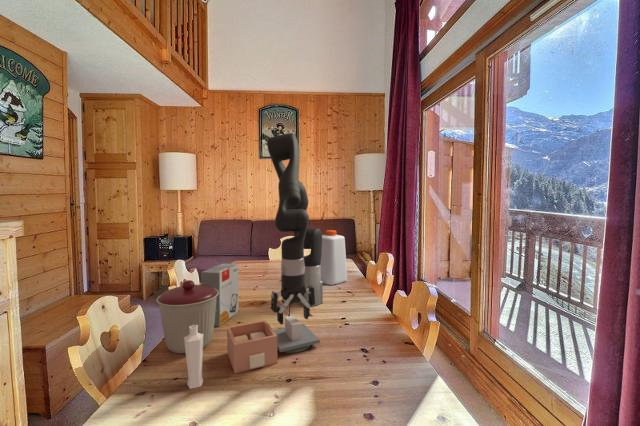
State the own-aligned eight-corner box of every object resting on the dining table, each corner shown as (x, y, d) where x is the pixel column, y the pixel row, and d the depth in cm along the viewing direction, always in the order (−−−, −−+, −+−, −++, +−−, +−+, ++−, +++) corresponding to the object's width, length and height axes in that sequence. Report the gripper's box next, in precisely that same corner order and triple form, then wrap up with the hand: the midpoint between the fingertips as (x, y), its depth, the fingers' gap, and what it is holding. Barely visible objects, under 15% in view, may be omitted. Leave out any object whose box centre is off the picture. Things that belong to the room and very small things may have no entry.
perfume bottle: (188, 378, 80) (186, 323, 79) (206, 378, 80) (204, 322, 79) (182, 390, 75) (180, 331, 74) (200, 389, 76) (198, 330, 75)
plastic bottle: (311, 280, 170) (311, 230, 168) (331, 275, 180) (331, 228, 178) (331, 286, 159) (331, 233, 157) (350, 281, 169) (350, 230, 167)
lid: (303, 329, 108) (303, 309, 107) (319, 345, 96) (319, 324, 95) (267, 336, 102) (267, 316, 102) (280, 355, 90) (279, 332, 90)
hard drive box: (219, 327, 111) (218, 273, 109) (200, 325, 112) (199, 272, 111) (239, 311, 126) (238, 263, 125) (222, 310, 127) (221, 262, 126)
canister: (191, 365, 86) (189, 292, 85) (144, 354, 92) (141, 285, 91) (231, 337, 103) (230, 275, 102) (189, 329, 109) (187, 271, 108)
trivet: (302, 331, 107) (302, 330, 107) (317, 347, 96) (317, 345, 96) (269, 339, 102) (269, 337, 102) (280, 356, 91) (280, 354, 91)
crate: (266, 344, 98) (265, 320, 98) (278, 364, 87) (278, 337, 86) (227, 352, 93) (226, 327, 92) (235, 375, 81) (234, 346, 81)
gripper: (308, 266, 104) (309, 312, 105) (267, 271, 98) (268, 320, 99) (318, 271, 97) (318, 321, 98) (275, 277, 91) (276, 330, 92)
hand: (293, 320), depth 99 cm, fingers open, 8 cm apart
